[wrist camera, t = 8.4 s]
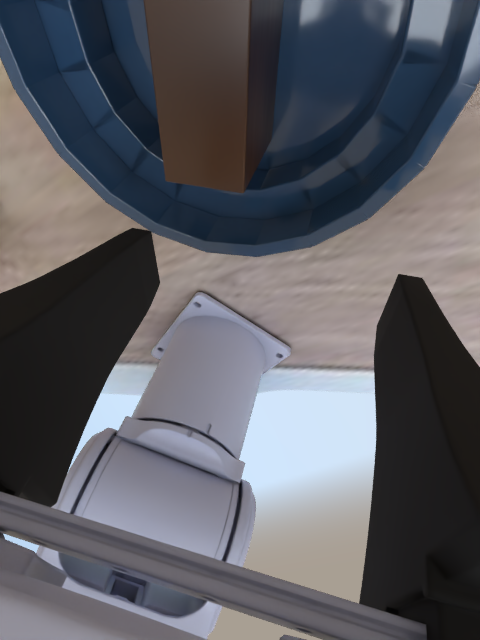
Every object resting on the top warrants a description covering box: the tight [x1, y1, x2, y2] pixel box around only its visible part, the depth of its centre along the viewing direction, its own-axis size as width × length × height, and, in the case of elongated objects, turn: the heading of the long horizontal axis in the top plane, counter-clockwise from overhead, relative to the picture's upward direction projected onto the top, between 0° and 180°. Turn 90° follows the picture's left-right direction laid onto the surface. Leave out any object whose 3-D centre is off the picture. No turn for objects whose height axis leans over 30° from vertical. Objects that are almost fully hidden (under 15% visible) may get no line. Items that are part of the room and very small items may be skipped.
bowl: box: [0, 0, 480, 257], centre depth 13 cm, size 15×15×5 cm
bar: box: [144, 0, 284, 193], centre depth 12 cm, size 8×3×5 cm, turn 178°
